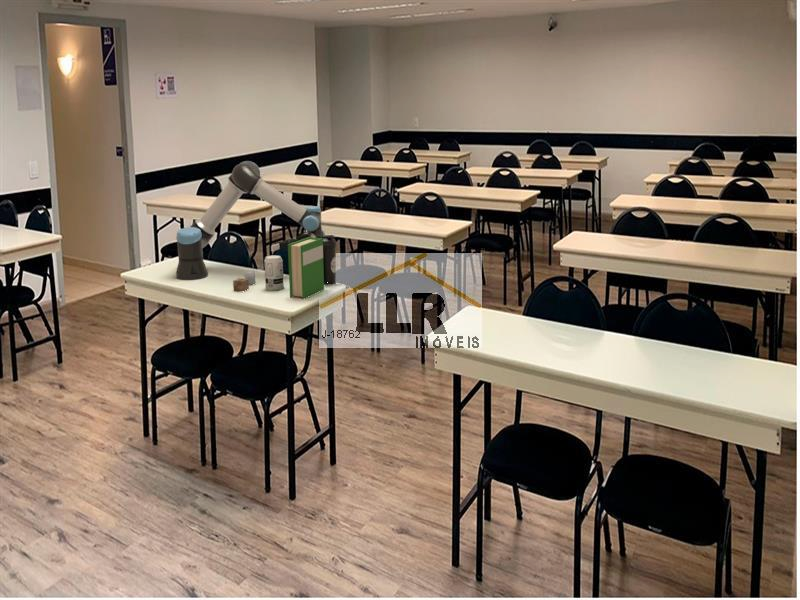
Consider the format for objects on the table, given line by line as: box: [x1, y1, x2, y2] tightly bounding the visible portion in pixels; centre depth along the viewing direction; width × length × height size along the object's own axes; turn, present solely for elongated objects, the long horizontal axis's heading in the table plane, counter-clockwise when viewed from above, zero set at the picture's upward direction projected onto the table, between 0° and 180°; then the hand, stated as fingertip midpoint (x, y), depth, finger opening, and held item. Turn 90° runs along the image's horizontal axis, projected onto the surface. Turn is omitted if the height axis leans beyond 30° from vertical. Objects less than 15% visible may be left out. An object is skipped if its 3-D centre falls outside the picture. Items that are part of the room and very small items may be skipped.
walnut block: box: [232, 277, 250, 292], centre depth 341 cm, size 5×5×5 cm
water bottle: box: [317, 234, 338, 286], centre depth 352 cm, size 10×10×23 cm
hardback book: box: [287, 237, 325, 299], centre depth 334 cm, size 18×7×24 cm, turn 156°
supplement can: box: [264, 254, 285, 291], centre depth 343 cm, size 8×8×15 cm
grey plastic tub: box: [243, 270, 257, 286], centre depth 352 cm, size 5×5×6 cm
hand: (284, 249), depth 349 cm, fingers open, 13 cm apart
